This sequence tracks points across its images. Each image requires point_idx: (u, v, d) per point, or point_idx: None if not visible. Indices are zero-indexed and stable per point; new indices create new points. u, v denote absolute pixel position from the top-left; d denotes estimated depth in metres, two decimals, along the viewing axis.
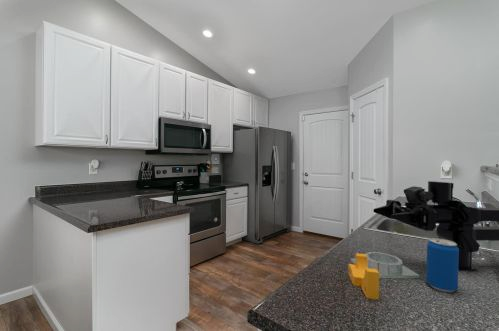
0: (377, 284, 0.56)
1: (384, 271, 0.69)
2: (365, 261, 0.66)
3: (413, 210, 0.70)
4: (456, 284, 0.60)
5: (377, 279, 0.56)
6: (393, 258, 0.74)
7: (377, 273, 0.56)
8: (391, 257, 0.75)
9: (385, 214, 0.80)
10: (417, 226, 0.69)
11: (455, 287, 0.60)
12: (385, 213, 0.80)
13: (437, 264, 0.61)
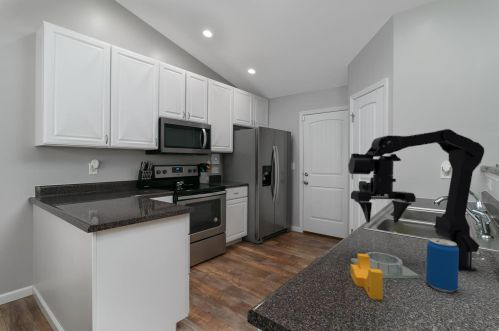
0: (381, 284, 0.56)
1: (384, 271, 0.69)
2: (367, 261, 0.66)
3: None
4: (456, 284, 0.60)
5: (380, 279, 0.56)
6: (393, 258, 0.74)
7: (381, 273, 0.56)
8: (391, 257, 0.75)
9: (398, 210, 0.77)
10: None
11: (455, 287, 0.60)
12: (398, 210, 0.78)
13: (437, 264, 0.61)
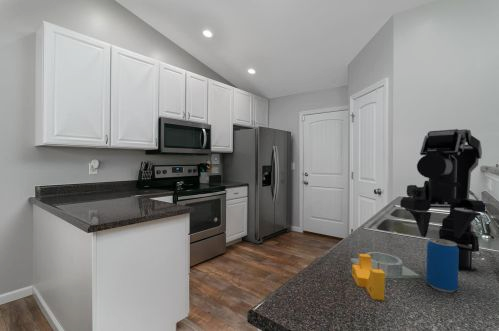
0: (383, 285, 0.56)
1: (384, 271, 0.69)
2: (369, 261, 0.66)
3: None
4: (456, 284, 0.60)
5: (382, 280, 0.56)
6: (393, 258, 0.74)
7: (383, 274, 0.56)
8: (391, 257, 0.75)
9: (462, 222, 0.62)
10: (422, 214, 0.60)
11: (455, 287, 0.60)
12: (461, 222, 0.62)
13: (437, 264, 0.61)
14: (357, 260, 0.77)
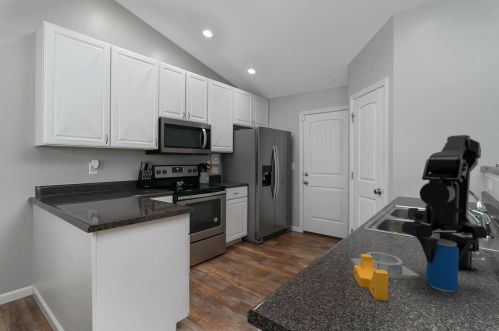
0: (386, 285, 0.56)
1: None
2: (371, 262, 0.66)
3: None
4: (456, 284, 0.60)
5: (386, 280, 0.56)
6: (393, 258, 0.74)
7: (386, 274, 0.56)
8: (391, 257, 0.75)
9: (460, 248, 0.62)
10: (429, 241, 0.60)
11: (455, 287, 0.60)
12: (458, 247, 0.62)
13: (437, 264, 0.61)
14: (357, 260, 0.77)
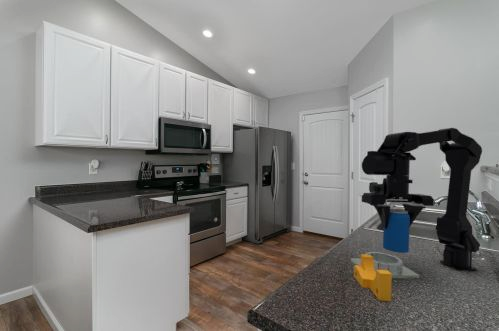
0: (389, 286, 0.56)
1: None
2: (371, 262, 0.66)
3: None
4: (407, 247, 0.68)
5: (389, 281, 0.56)
6: (393, 258, 0.74)
7: (389, 274, 0.56)
8: (391, 257, 0.75)
9: (411, 215, 0.70)
10: (383, 208, 0.68)
11: (406, 249, 0.68)
12: (410, 215, 0.70)
13: (391, 230, 0.69)
14: (357, 260, 0.77)
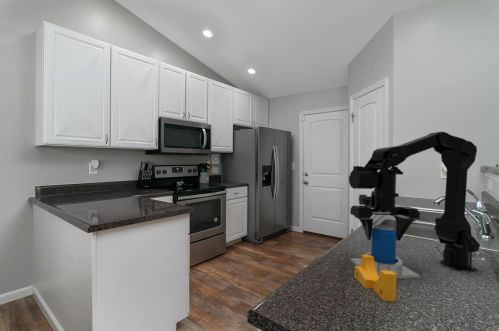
0: (394, 286, 0.56)
1: None
2: (372, 262, 0.65)
3: None
4: (393, 262, 0.70)
5: (394, 281, 0.56)
6: None
7: (394, 275, 0.56)
8: None
9: (401, 227, 0.72)
10: None
11: None
12: (401, 227, 0.72)
13: (378, 245, 0.71)
14: (357, 260, 0.77)
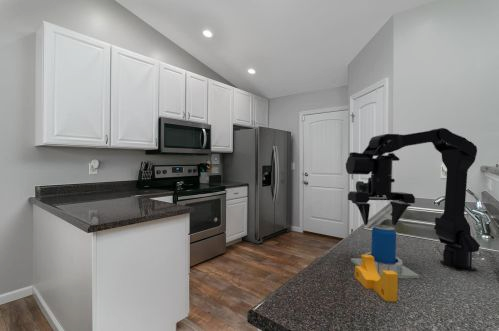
0: (396, 286, 0.56)
1: None
2: (372, 262, 0.65)
3: None
4: (393, 262, 0.70)
5: (395, 281, 0.56)
6: None
7: (396, 275, 0.56)
8: None
9: (397, 212, 0.74)
10: None
11: None
12: (396, 212, 0.74)
13: (378, 245, 0.71)
14: (357, 260, 0.77)
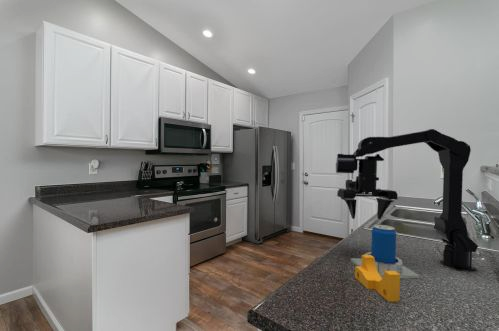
0: (398, 286, 0.56)
1: None
2: (373, 262, 0.65)
3: None
4: (393, 262, 0.70)
5: (398, 281, 0.56)
6: None
7: (398, 275, 0.56)
8: None
9: (382, 207, 0.82)
10: None
11: None
12: (381, 207, 0.82)
13: (378, 245, 0.71)
14: (357, 260, 0.77)
